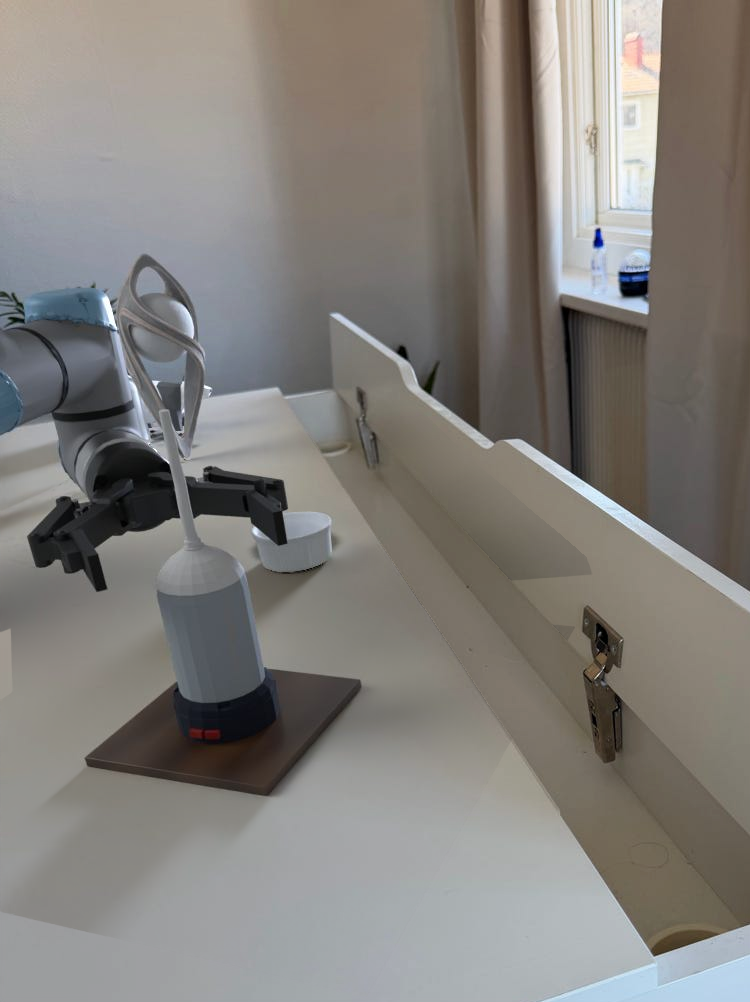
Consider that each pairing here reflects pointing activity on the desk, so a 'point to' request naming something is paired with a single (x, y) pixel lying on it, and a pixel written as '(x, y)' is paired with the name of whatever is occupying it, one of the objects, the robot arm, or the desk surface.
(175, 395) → the dark grey angular block
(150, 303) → the sculpture
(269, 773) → the mat
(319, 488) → the desk surface
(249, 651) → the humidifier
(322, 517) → the ramekin
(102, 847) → the desk surface
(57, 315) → the robot arm
